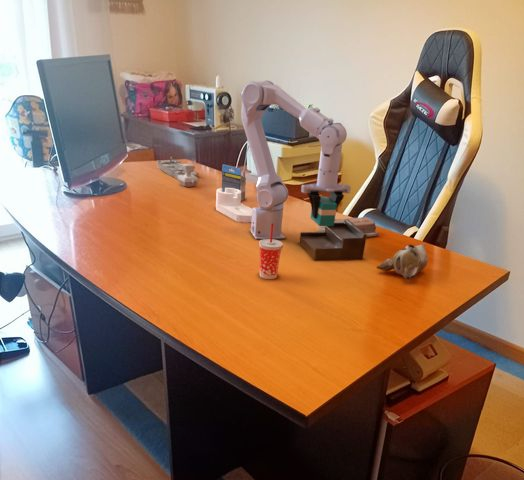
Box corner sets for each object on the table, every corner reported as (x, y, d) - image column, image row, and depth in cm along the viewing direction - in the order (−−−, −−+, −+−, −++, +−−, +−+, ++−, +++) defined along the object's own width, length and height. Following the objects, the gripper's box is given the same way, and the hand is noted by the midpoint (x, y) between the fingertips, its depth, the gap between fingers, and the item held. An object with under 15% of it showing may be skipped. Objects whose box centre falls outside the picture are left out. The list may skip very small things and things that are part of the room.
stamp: (200, 187, 211) (200, 166, 206) (186, 189, 207) (186, 167, 203) (189, 182, 217) (189, 161, 212) (175, 183, 213) (174, 162, 209)
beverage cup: (272, 282, 133) (276, 229, 126) (252, 276, 136) (255, 223, 129) (283, 275, 138) (289, 223, 131) (264, 269, 140) (268, 218, 133)
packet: (319, 226, 151) (322, 204, 147) (310, 217, 157) (312, 196, 154) (334, 226, 152) (337, 204, 149) (324, 217, 159) (327, 196, 155)
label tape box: (245, 199, 200) (247, 166, 193) (239, 201, 197) (241, 168, 190) (226, 195, 203) (228, 162, 197) (220, 197, 200) (221, 164, 194)
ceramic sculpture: (441, 243, 142) (412, 258, 133) (435, 273, 147) (406, 288, 138) (408, 233, 148) (377, 246, 139) (403, 261, 153) (373, 276, 144)
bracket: (211, 207, 188) (212, 188, 184) (232, 205, 192) (233, 186, 189) (240, 223, 174) (241, 203, 170) (262, 220, 178) (263, 201, 175)
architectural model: (178, 180, 219) (178, 167, 217) (153, 167, 236) (152, 155, 234) (202, 178, 225) (203, 165, 223) (176, 165, 242) (176, 154, 240)
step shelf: (314, 260, 149) (318, 235, 145) (299, 243, 161) (301, 219, 157) (362, 259, 153) (366, 234, 149) (343, 242, 165) (347, 219, 161)
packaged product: (363, 213, 177) (381, 222, 170) (361, 227, 180) (378, 237, 172) (319, 217, 170) (335, 226, 162) (317, 231, 172) (333, 241, 165)
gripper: (309, 172, 142) (303, 221, 149) (357, 173, 146) (350, 221, 152) (301, 167, 148) (296, 214, 155) (347, 167, 151) (341, 214, 158)
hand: (322, 217), depth 154 cm, fingers closed on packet, 4 cm apart
